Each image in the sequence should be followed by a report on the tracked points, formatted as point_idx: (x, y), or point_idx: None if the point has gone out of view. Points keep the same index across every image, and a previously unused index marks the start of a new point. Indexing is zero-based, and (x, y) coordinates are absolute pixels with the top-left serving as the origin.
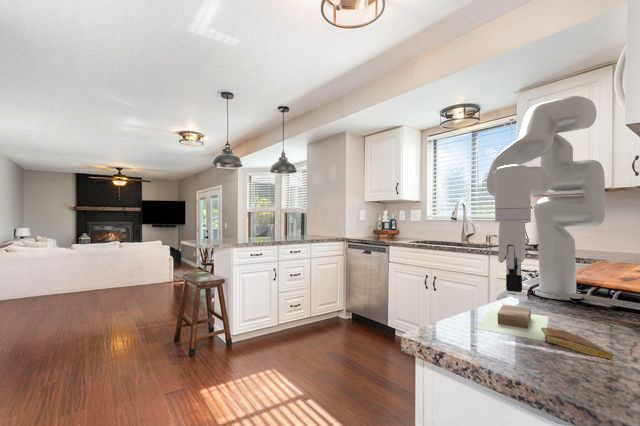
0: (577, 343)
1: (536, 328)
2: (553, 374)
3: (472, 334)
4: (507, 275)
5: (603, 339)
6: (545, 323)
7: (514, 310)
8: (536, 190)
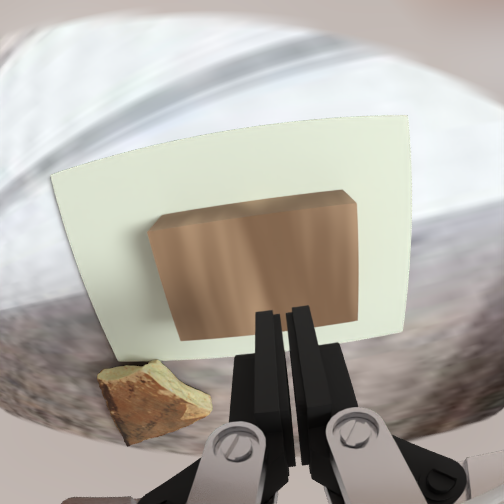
0: (114, 419)
1: None
2: (7, 364)
3: (26, 178)
4: (257, 414)
5: None
6: None
7: (263, 279)
8: None
